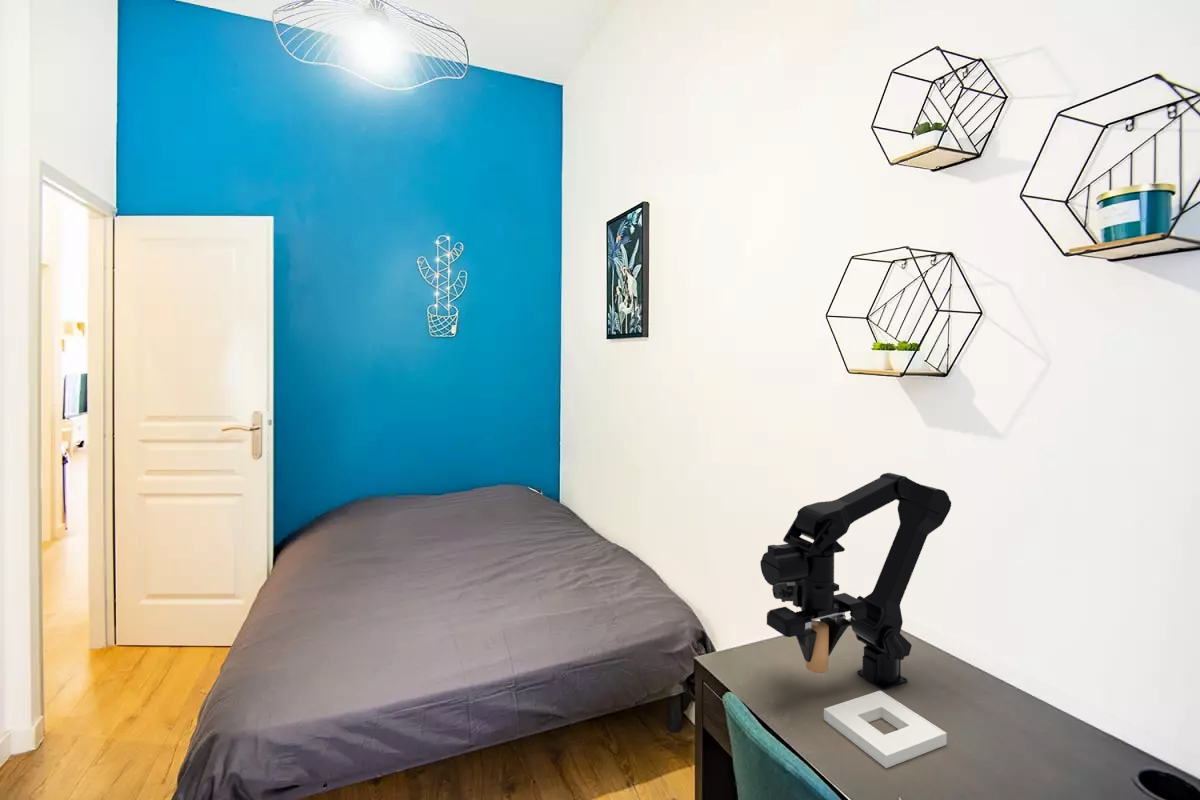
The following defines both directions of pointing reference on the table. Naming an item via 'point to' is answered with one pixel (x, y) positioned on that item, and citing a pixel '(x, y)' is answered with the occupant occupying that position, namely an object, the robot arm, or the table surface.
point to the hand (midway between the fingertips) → (816, 658)
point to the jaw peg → (819, 648)
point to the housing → (887, 748)
